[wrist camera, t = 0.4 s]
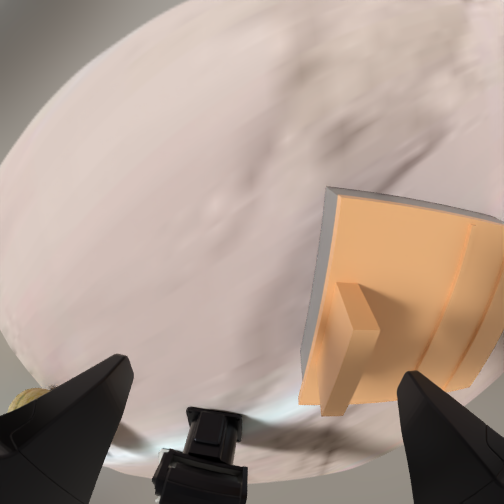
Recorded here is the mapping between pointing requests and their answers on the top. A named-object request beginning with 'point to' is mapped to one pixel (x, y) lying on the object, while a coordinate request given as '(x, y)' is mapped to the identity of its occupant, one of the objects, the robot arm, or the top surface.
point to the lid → (403, 302)
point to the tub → (325, 248)
